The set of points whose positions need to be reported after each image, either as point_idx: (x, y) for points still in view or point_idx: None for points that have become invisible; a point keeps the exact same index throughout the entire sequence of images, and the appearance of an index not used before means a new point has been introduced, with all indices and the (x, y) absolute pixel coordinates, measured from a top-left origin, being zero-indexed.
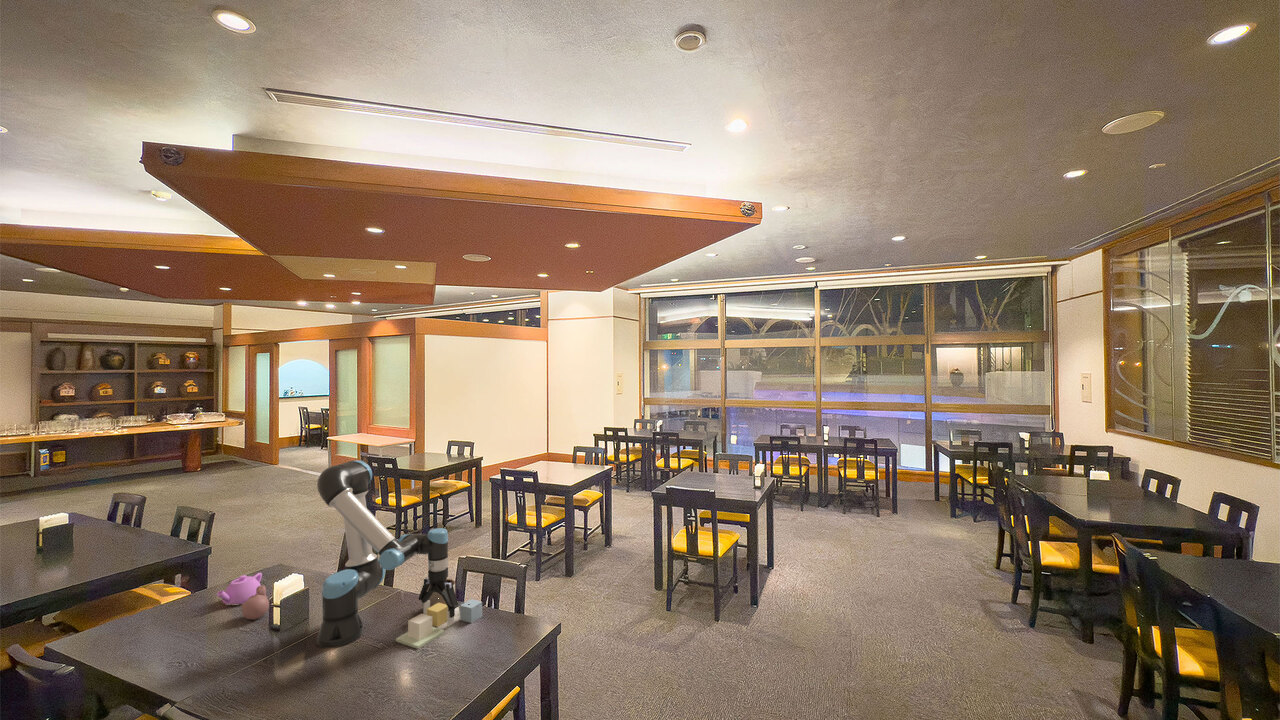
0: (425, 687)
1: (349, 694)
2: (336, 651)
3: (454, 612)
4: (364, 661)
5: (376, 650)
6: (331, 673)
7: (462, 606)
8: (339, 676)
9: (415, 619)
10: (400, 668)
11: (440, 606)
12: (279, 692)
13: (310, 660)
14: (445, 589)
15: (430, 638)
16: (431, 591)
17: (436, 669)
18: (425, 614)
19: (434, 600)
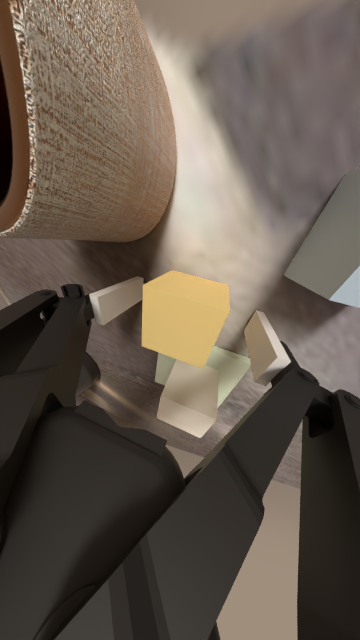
0: (288, 469)
1: (192, 445)
2: (105, 386)
3: (293, 358)
4: (157, 408)
5: (149, 392)
6: (143, 416)
7: (352, 305)
8: (156, 422)
9: (171, 419)
10: (220, 431)
11: (183, 325)
12: (129, 425)
13: (101, 395)
14: (200, 501)
15: (230, 390)
16: (70, 396)
17: (292, 450)
18: (134, 301)
19: (91, 239)
